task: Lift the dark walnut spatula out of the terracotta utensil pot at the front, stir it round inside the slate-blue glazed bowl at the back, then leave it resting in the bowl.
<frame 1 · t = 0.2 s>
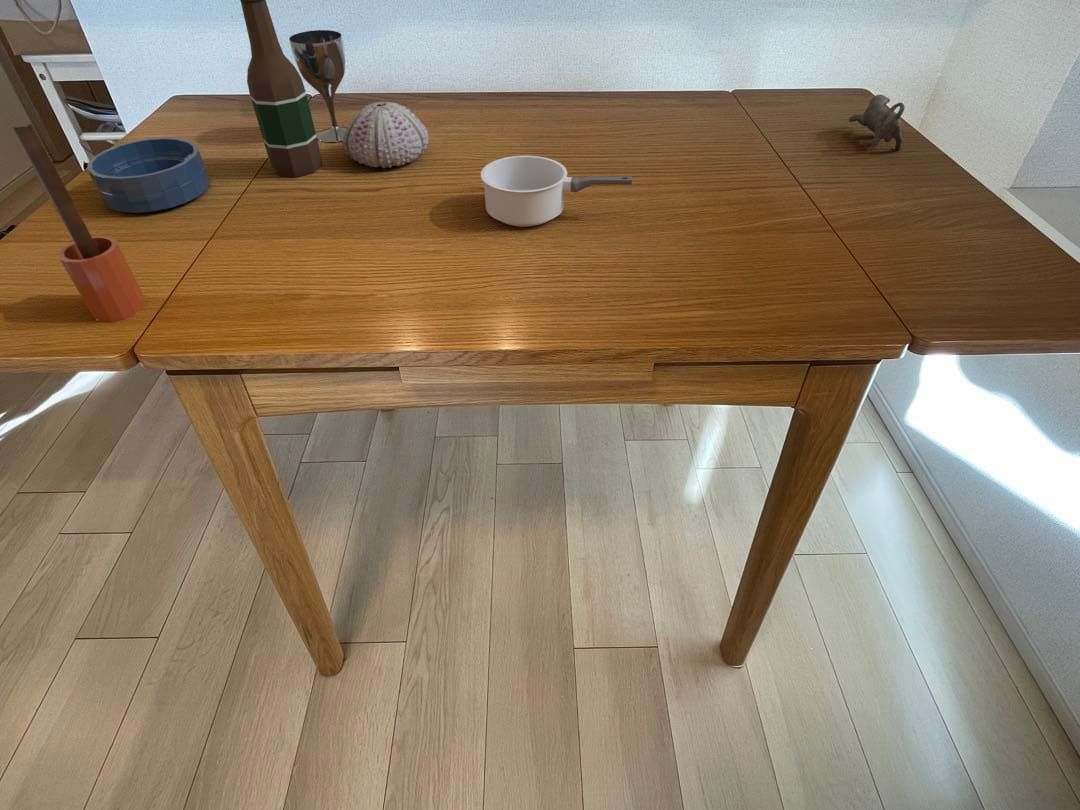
saucepan: (555, 215, 90), on the table
sea urchin shell: (389, 157, 105), on the table
utensil pot: (122, 312, 73), on the table
bowl: (159, 193, 95), on the table
spatula: (119, 307, 73), point 1 cm above the table, touching utensil pot
beer bottle: (298, 169, 102), on the table
wine glass: (337, 135, 112), on the table
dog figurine: (873, 141, 108), on the table
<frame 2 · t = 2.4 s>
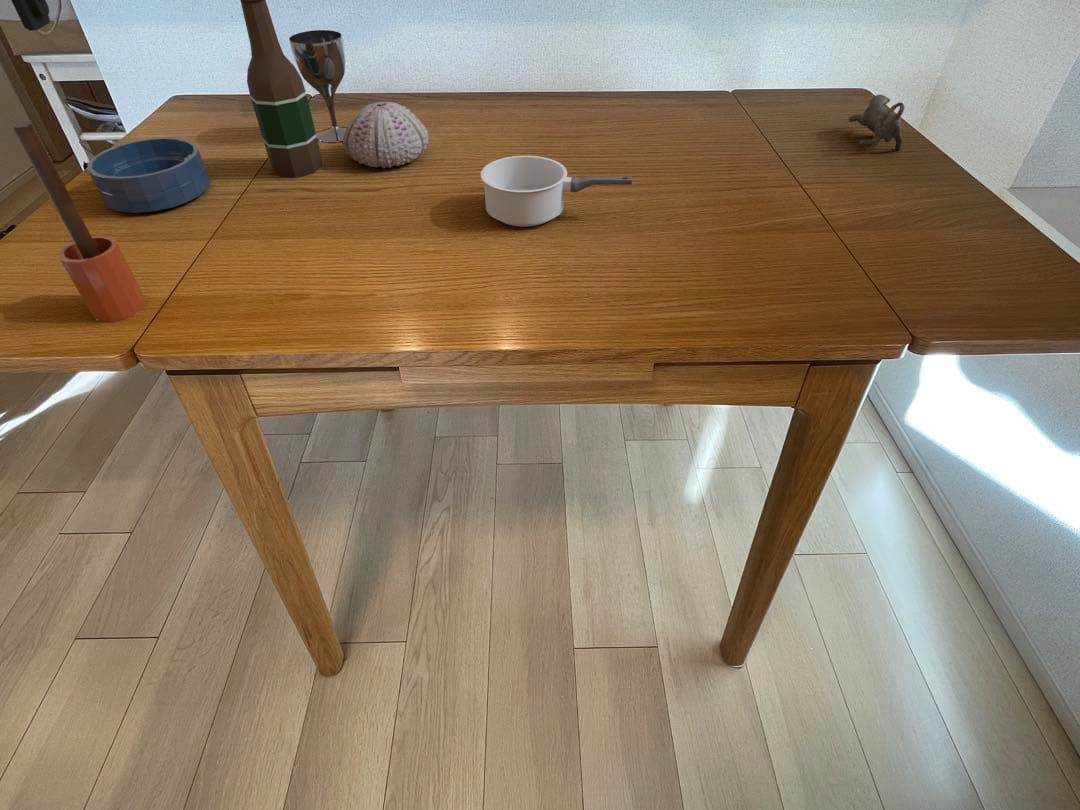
nothing on the table moved.
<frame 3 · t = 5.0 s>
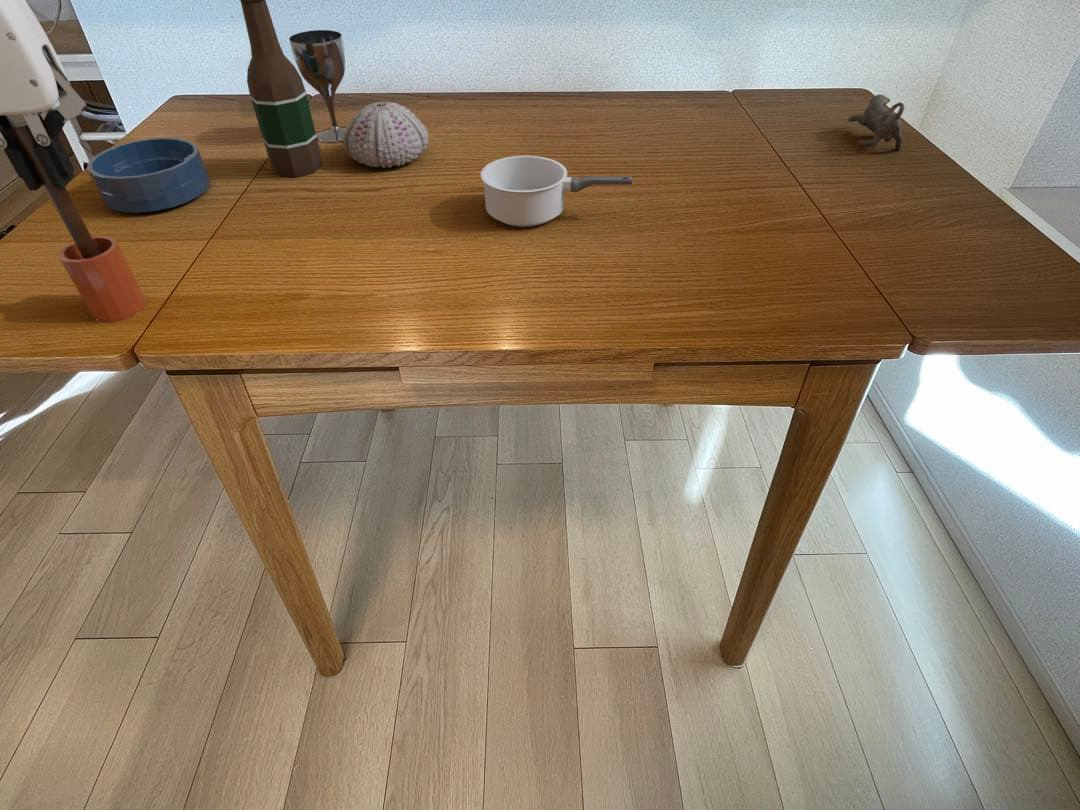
hand: (52, 182, 63), 15 cm above the table, tool pointing down, fingers closed on spatula, 1 cm apart
spatula: (119, 307, 73), point 1 cm above the table, touching gripper, utensil pot
everything else where it was.
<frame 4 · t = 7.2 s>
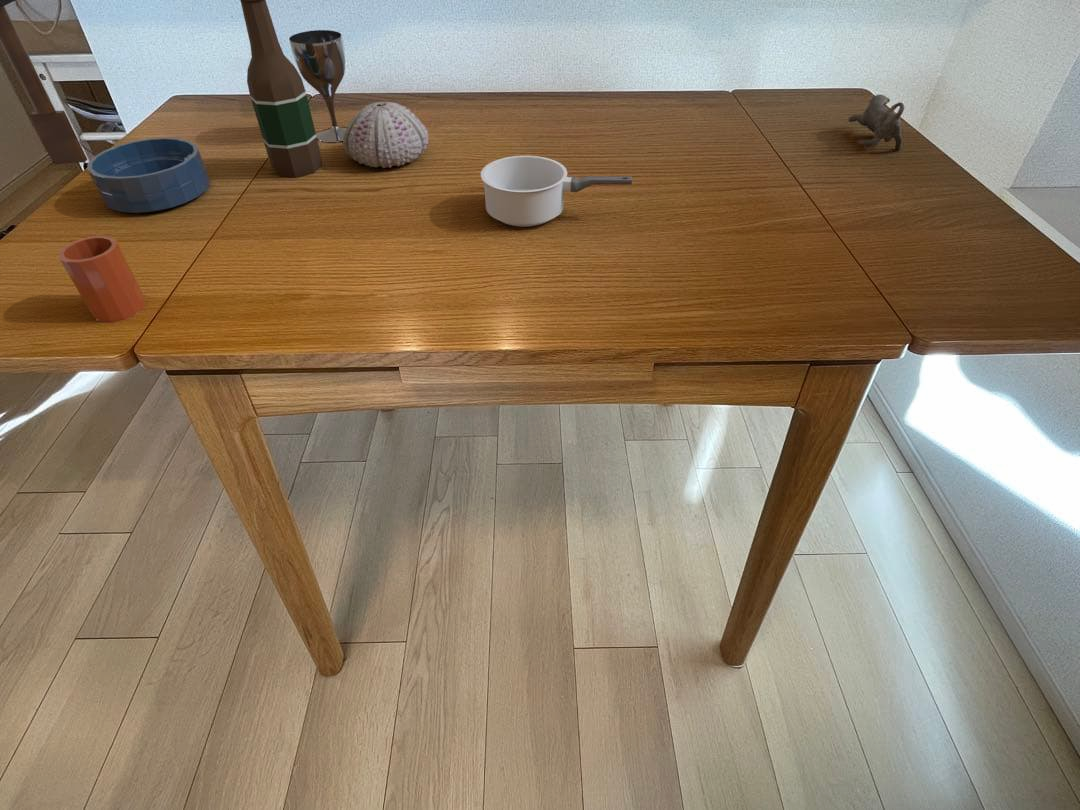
spatula: (71, 161, 68), point 14 cm above the table, touching gripper
everything else where it was.
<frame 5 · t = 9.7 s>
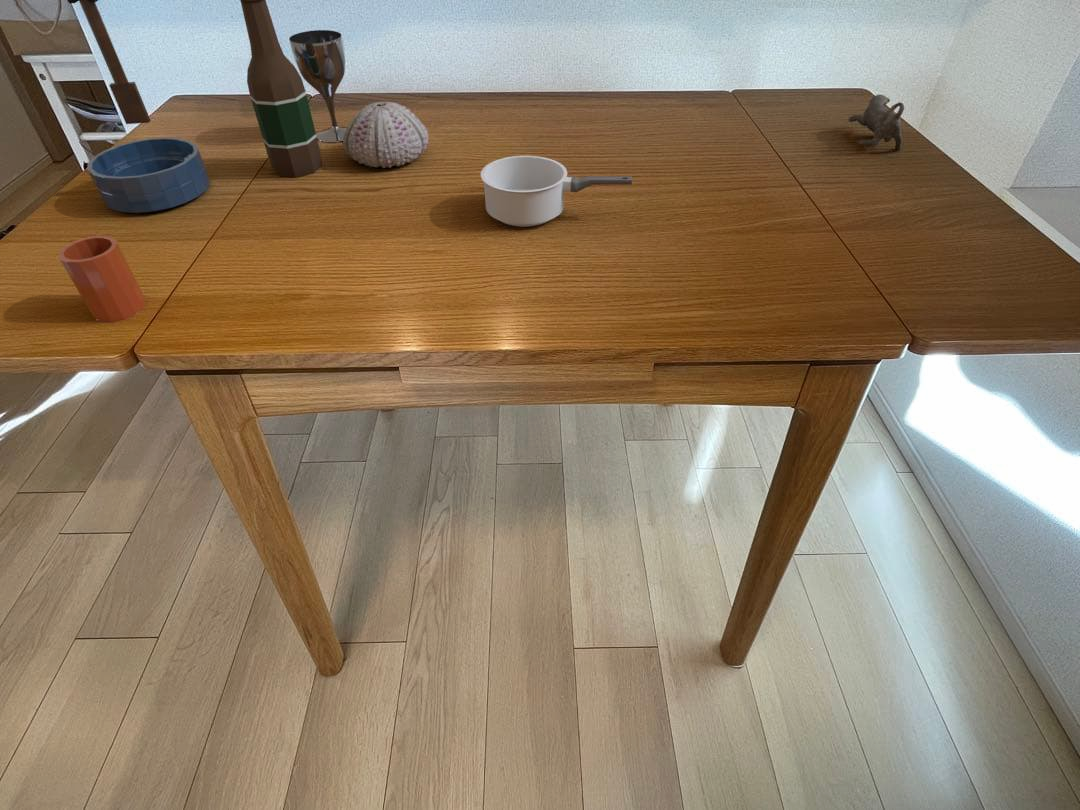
spatula: (138, 122, 89), point 10 cm above the table, touching gripper
everything else where it was.
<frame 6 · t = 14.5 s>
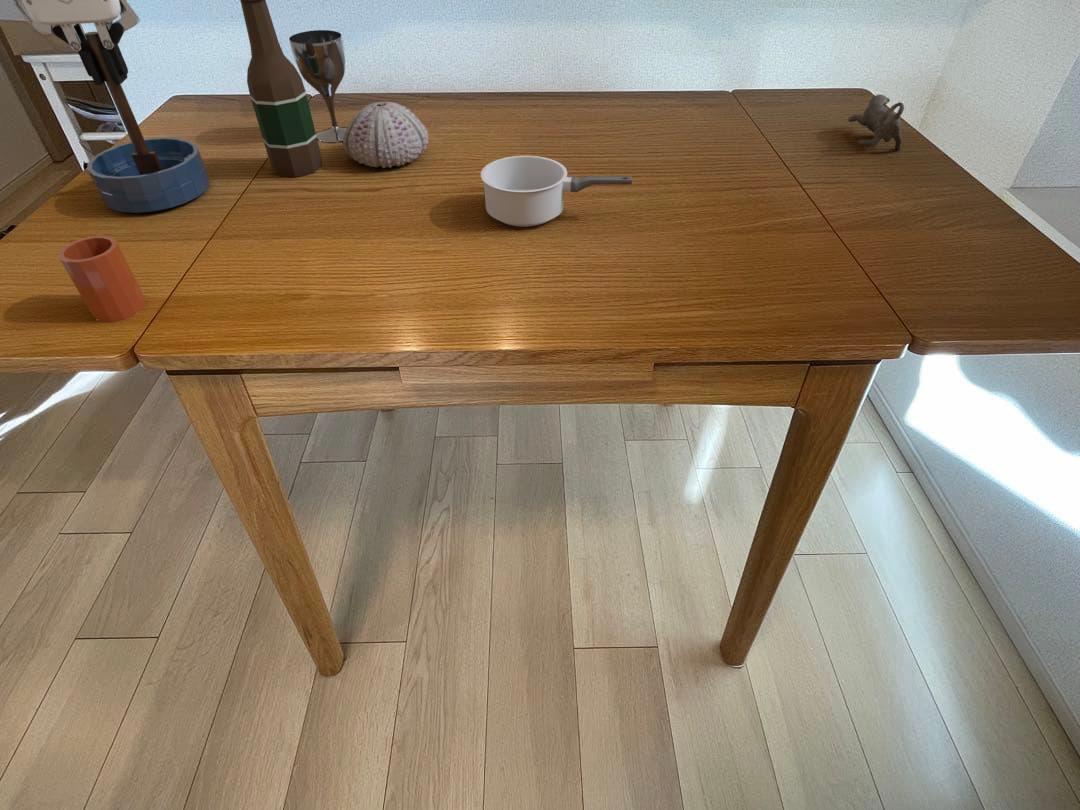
hand: (111, 80, 85), 16 cm above the table, tool pointing down, fingers closed on spatula, 1 cm apart
spatula: (157, 187, 95), point 1 cm above the table, touching gripper
everything else where it was.
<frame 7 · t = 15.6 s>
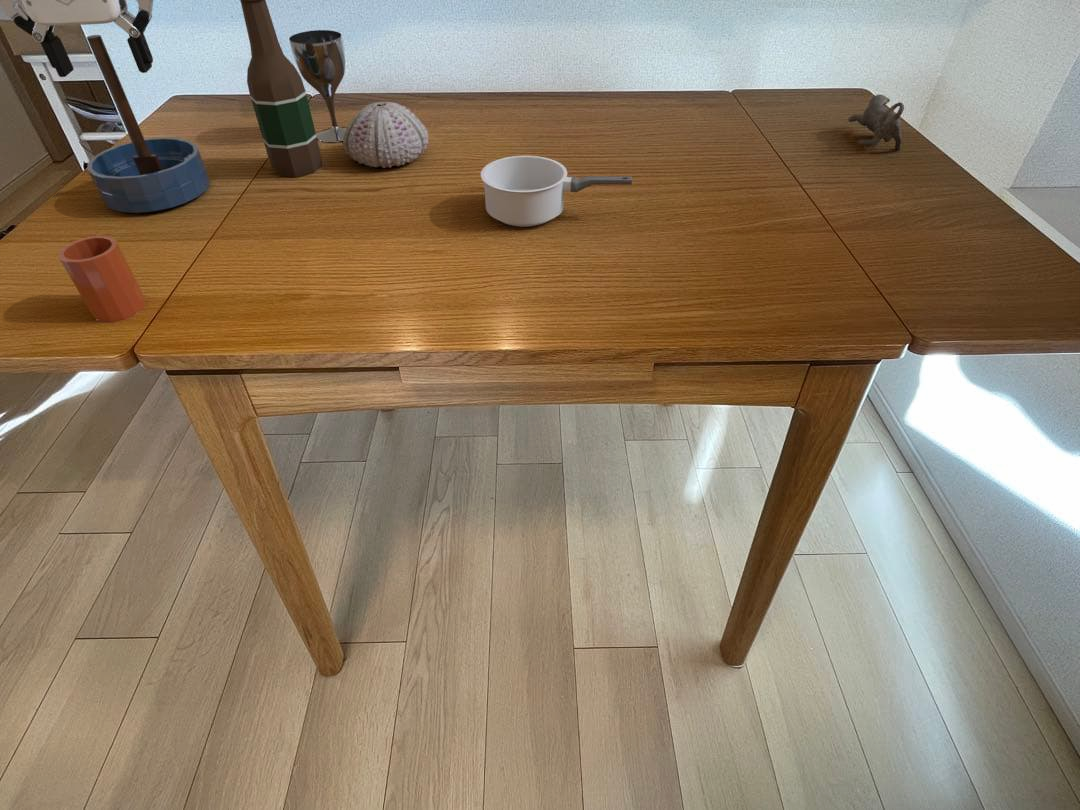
hand: (107, 71, 84), 17 cm above the table, tool pointing down, fingers open, 9 cm apart
spatula: (159, 189, 95), point 1 cm above the table, touching bowl
everything else where it was.
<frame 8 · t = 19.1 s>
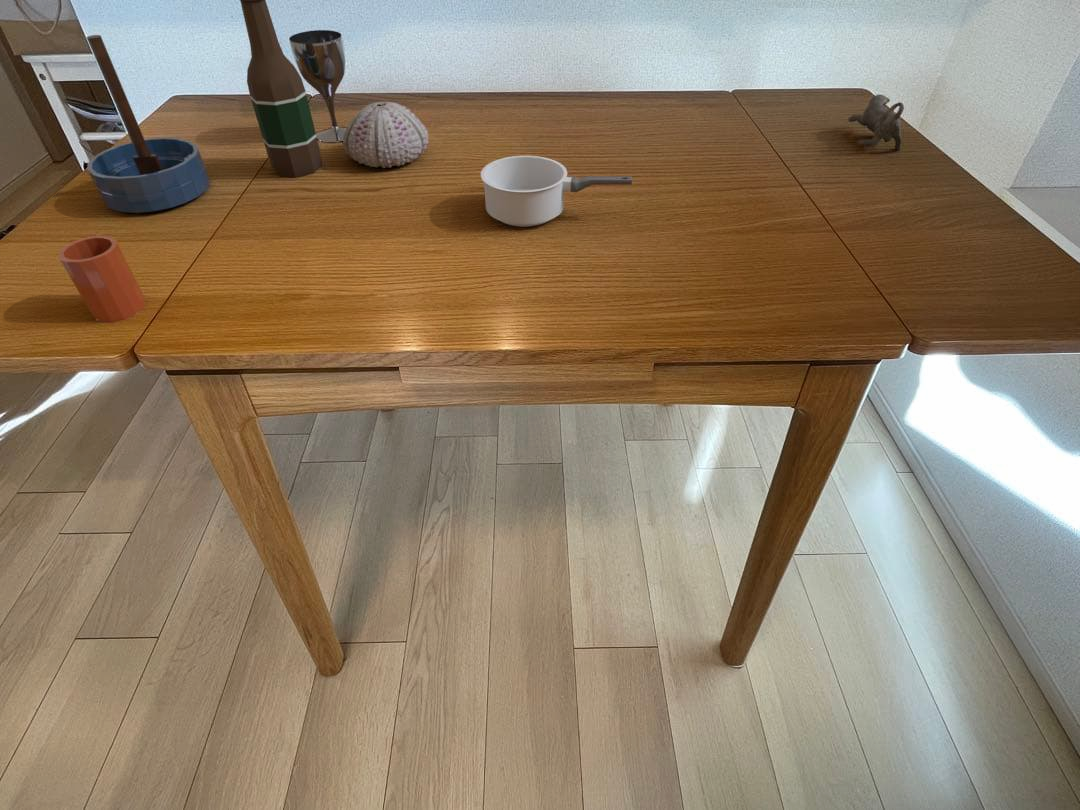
nothing on the table moved.
at the end: spatula inside the target area in the bowl (0.1 cm from its centre), point 0.6 cm above the bowl's base; spatula moved 31.3 cm from its start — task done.
